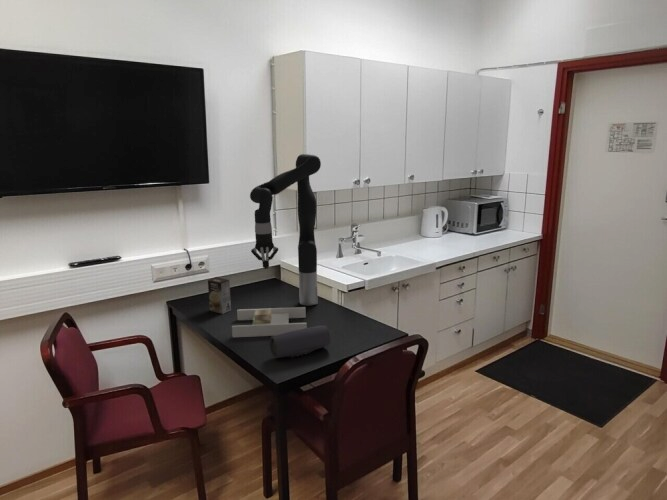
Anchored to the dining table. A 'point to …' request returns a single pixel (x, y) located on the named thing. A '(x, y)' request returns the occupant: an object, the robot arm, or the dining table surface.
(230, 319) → the dining table surface
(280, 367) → the dining table surface
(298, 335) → the bluetooth speaker
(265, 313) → the birch block
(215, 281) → the coffee box
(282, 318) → the track
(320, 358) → the dining table surface
